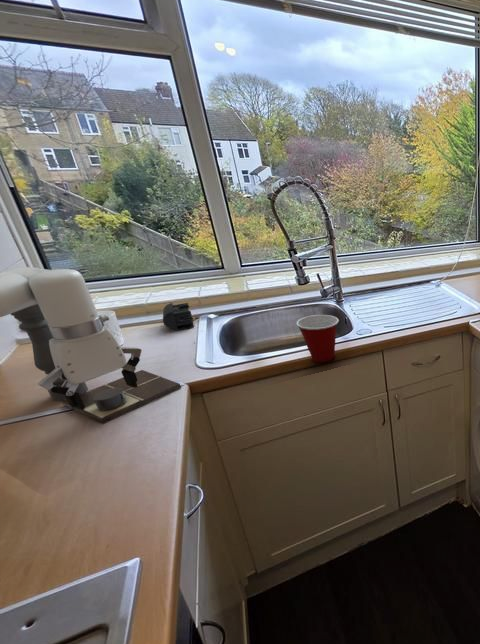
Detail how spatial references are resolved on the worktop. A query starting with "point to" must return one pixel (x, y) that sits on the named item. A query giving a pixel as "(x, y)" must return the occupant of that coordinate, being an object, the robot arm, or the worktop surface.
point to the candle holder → (42, 345)
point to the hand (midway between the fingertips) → (107, 396)
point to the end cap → (177, 316)
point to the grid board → (126, 395)
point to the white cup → (112, 325)
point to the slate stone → (110, 399)
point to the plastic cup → (319, 336)
